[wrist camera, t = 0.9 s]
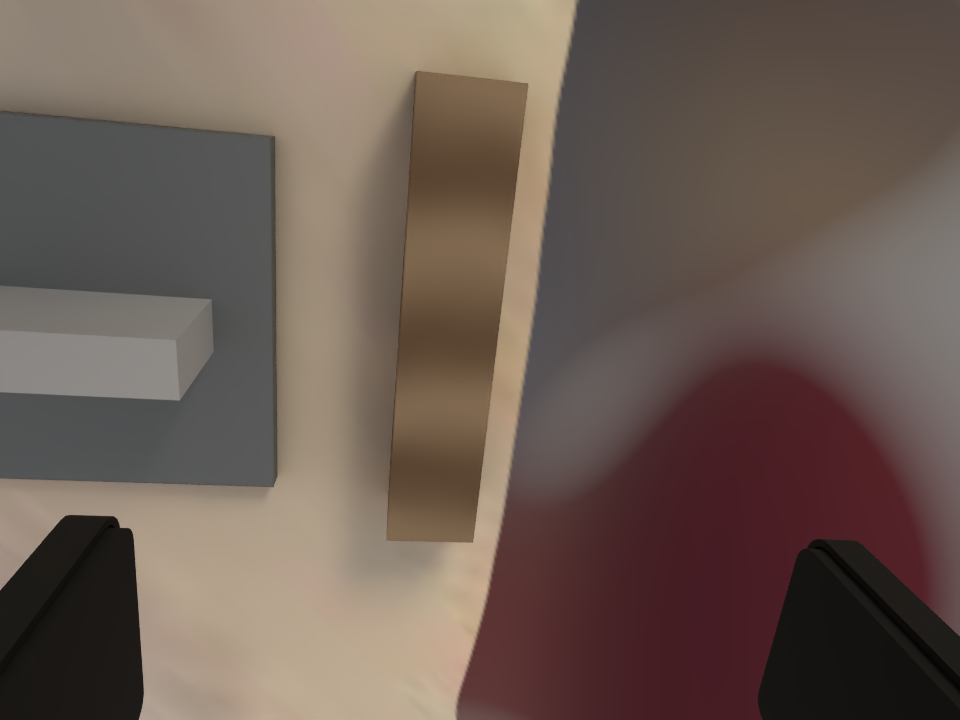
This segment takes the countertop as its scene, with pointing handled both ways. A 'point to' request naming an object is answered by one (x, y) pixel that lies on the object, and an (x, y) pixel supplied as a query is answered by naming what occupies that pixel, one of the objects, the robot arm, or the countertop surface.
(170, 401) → the slate board
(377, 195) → the countertop surface
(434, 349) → the walnut bar
